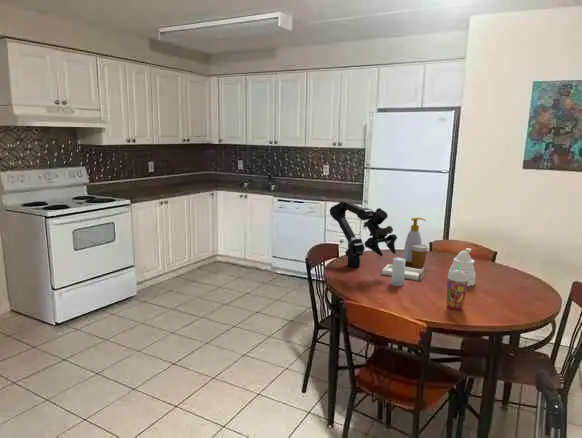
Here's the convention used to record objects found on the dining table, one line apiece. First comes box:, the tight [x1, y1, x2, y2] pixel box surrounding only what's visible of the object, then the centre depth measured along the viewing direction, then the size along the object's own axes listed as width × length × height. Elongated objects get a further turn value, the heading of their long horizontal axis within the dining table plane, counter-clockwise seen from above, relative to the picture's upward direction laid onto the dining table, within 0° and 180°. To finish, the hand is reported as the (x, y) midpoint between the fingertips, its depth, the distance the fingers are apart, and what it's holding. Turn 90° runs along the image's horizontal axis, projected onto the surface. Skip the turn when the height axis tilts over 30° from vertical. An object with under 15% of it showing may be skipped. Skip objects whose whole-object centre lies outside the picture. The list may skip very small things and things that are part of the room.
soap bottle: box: [402, 217, 426, 264], centre depth 251 cm, size 11×12×26 cm
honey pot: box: [448, 248, 476, 287], centre depth 218 cm, size 13×13×18 cm
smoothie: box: [446, 264, 468, 311], centre depth 184 cm, size 8×8×20 cm
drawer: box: [381, 263, 426, 282], centre depth 229 cm, size 20×12×4 cm, turn 63°
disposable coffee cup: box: [411, 243, 429, 269], centre depth 243 cm, size 10×10×12 cm
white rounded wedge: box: [390, 257, 407, 287], centre depth 212 cm, size 6×6×13 cm
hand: (388, 254), depth 217 cm, fingers open, 9 cm apart
